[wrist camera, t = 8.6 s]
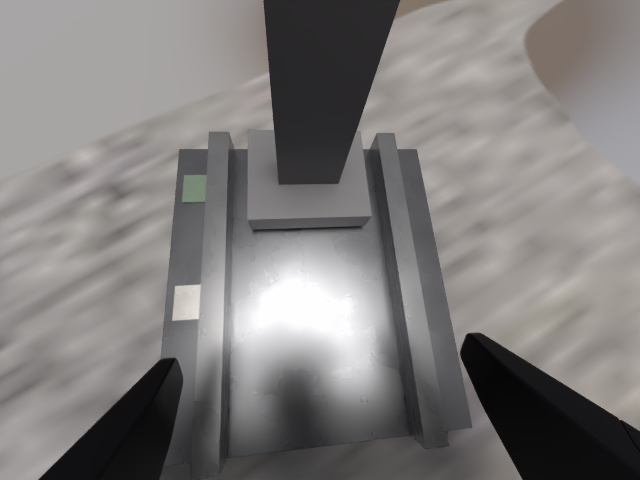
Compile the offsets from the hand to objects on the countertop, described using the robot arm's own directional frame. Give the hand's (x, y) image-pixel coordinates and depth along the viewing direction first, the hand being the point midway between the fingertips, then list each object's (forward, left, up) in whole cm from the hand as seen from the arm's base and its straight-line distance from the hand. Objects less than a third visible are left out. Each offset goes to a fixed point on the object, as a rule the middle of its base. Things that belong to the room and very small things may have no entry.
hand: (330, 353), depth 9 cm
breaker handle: (+8, +2, -5) cm, 10 cm away
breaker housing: (+3, +1, -7) cm, 8 cm away
